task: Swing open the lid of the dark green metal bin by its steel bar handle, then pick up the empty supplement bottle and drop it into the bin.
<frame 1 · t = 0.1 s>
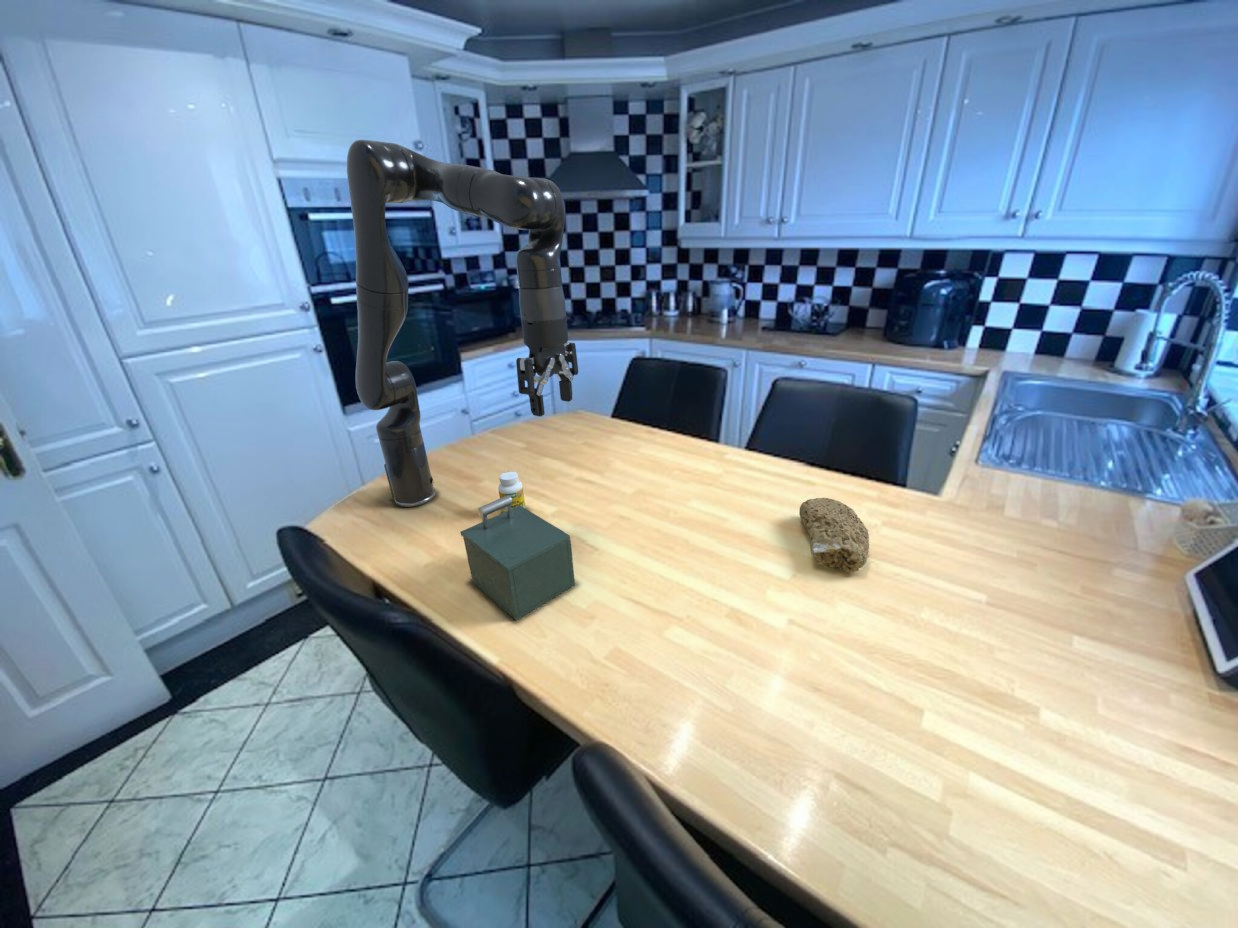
hand: (553, 407, 91), 29 cm above the countertop, tool pointing down, fingers open, 8 cm apart
supplement bottle: (514, 513, 115), on the countertop
bin lid: (512, 524, 87), point 12 cm above the countertop, hinge at 0.0°
bin: (523, 583, 92), on the countertop
sponge: (829, 544, 100), on the countertop
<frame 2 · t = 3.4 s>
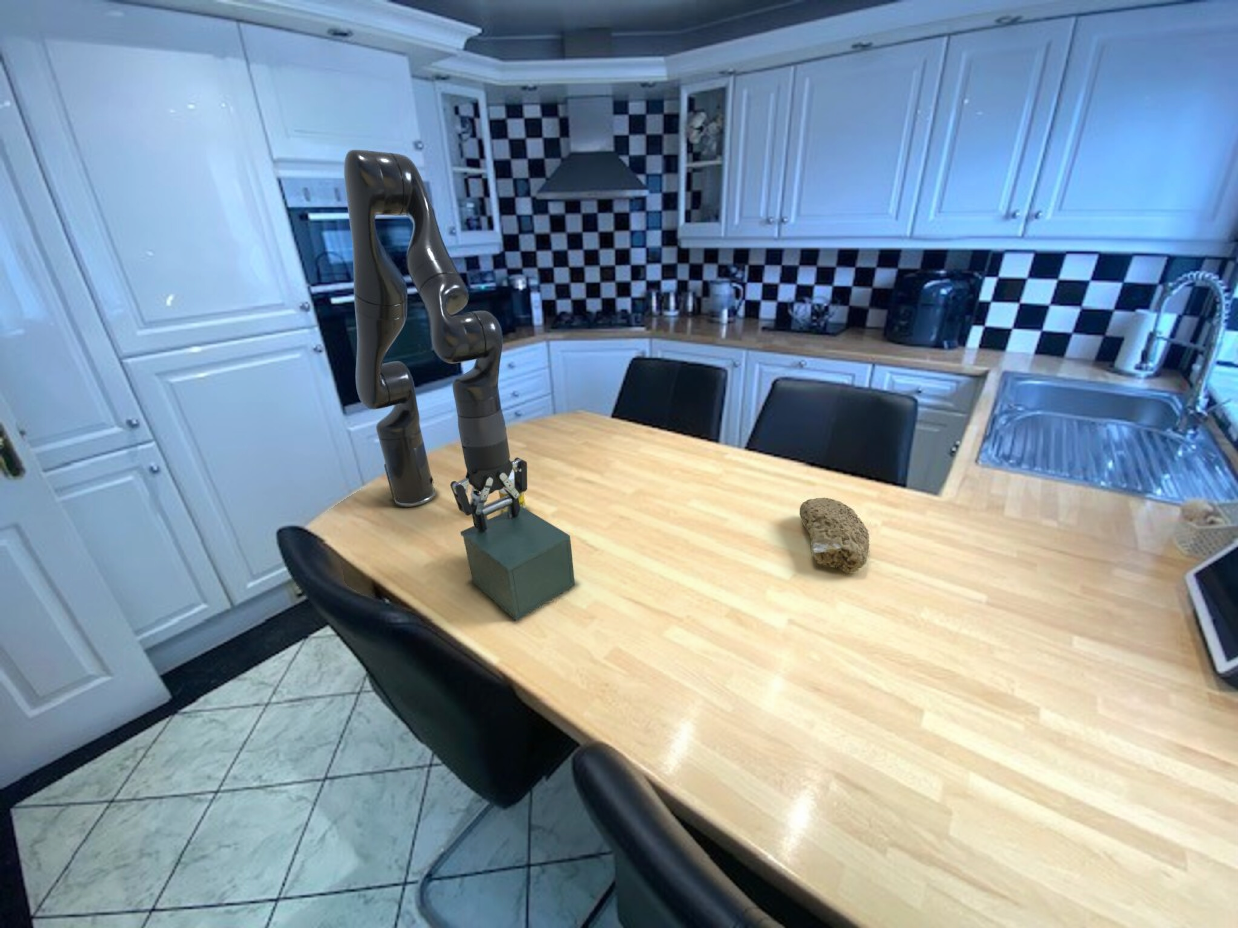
hand: (498, 521, 91), 11 cm above the countertop, tool pointing down, fingers closed on bin lid, 6 cm apart
bin lid: (512, 524, 87), point 12 cm above the countertop, hinge at -0.1°, touching gripper
everything else where it was.
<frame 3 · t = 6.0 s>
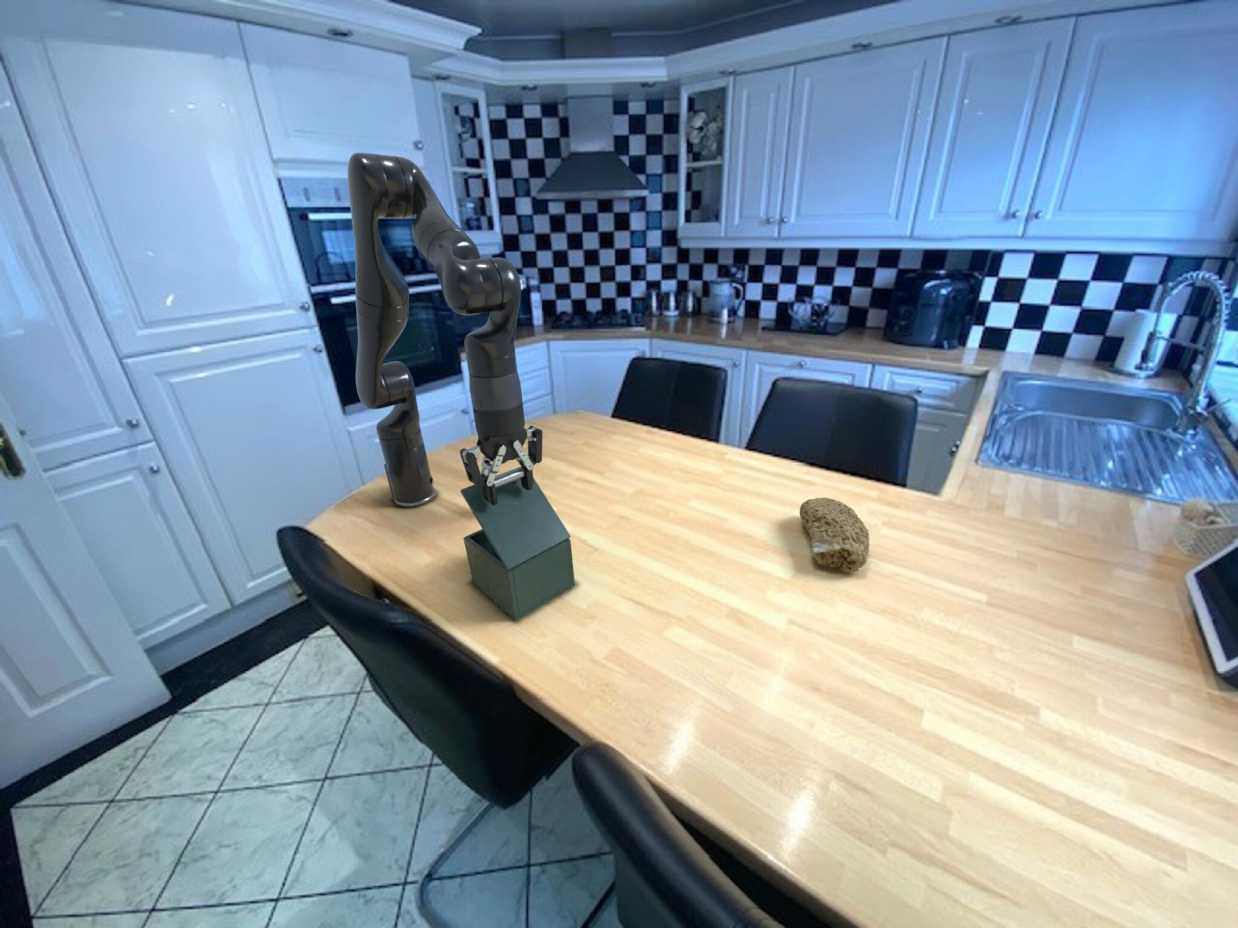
hand: (510, 495, 84), 18 cm above the countertop, tool pointing down, fingers closed on bin lid, 6 cm apart
bin lid: (520, 508, 83), point 17 cm above the countertop, hinge at 40.4°, touching gripper
everything else where it was.
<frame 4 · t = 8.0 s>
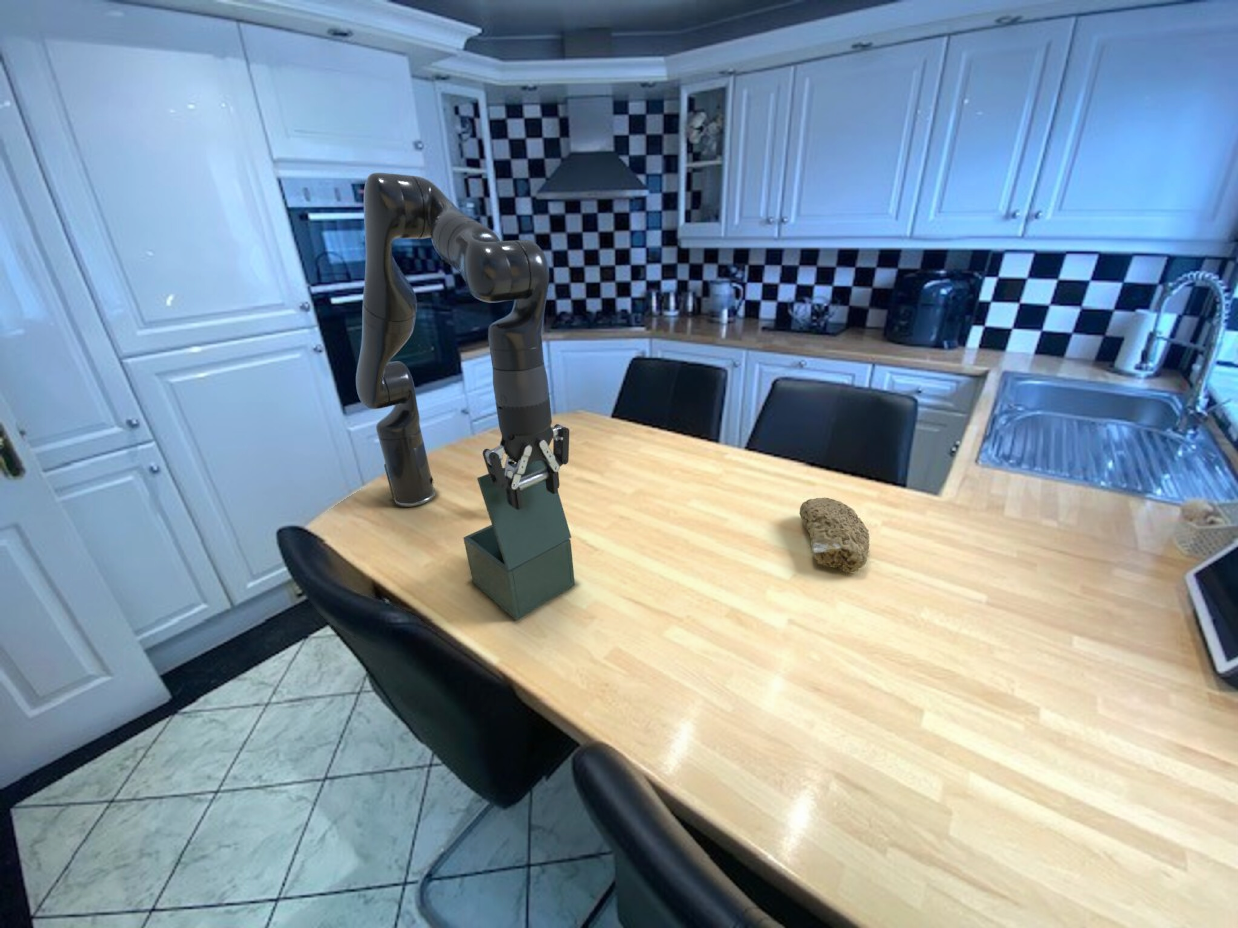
hand: (534, 499, 78), 21 cm above the countertop, tool pointing down, fingers closed on bin lid, 6 cm apart
bin lid: (534, 510, 80), point 18 cm above the countertop, hinge at 72.6°, touching gripper
everything else where it was.
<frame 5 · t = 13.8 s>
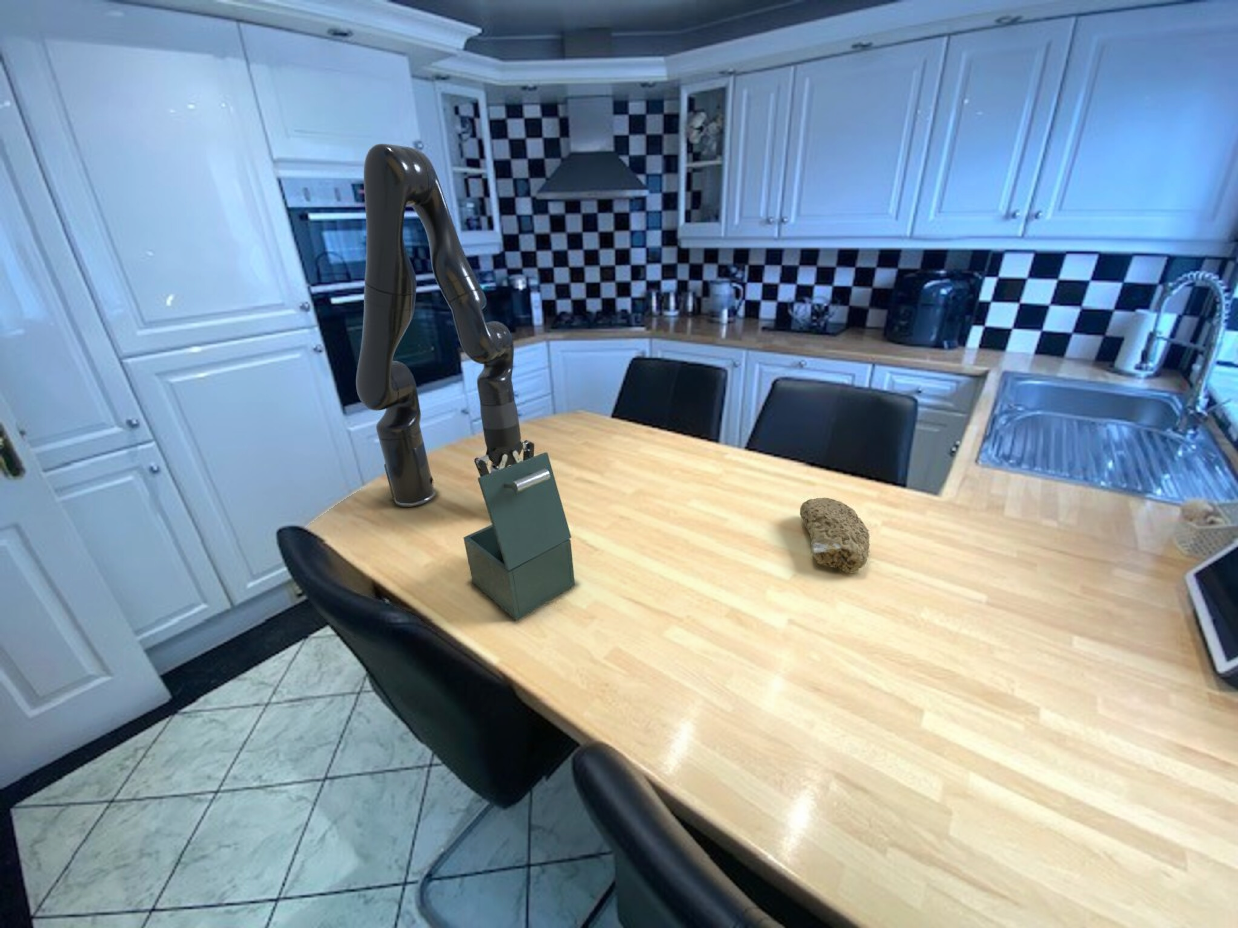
hand: (511, 491, 113), 5 cm above the countertop, tool pointing down, fingers closed on supplement bottle, 5 cm apart
supplement bottle: (514, 513, 115), on the countertop, touching gripper
bin lid: (534, 510, 80), point 18 cm above the countertop, hinge at 73.3°
everything else where it was.
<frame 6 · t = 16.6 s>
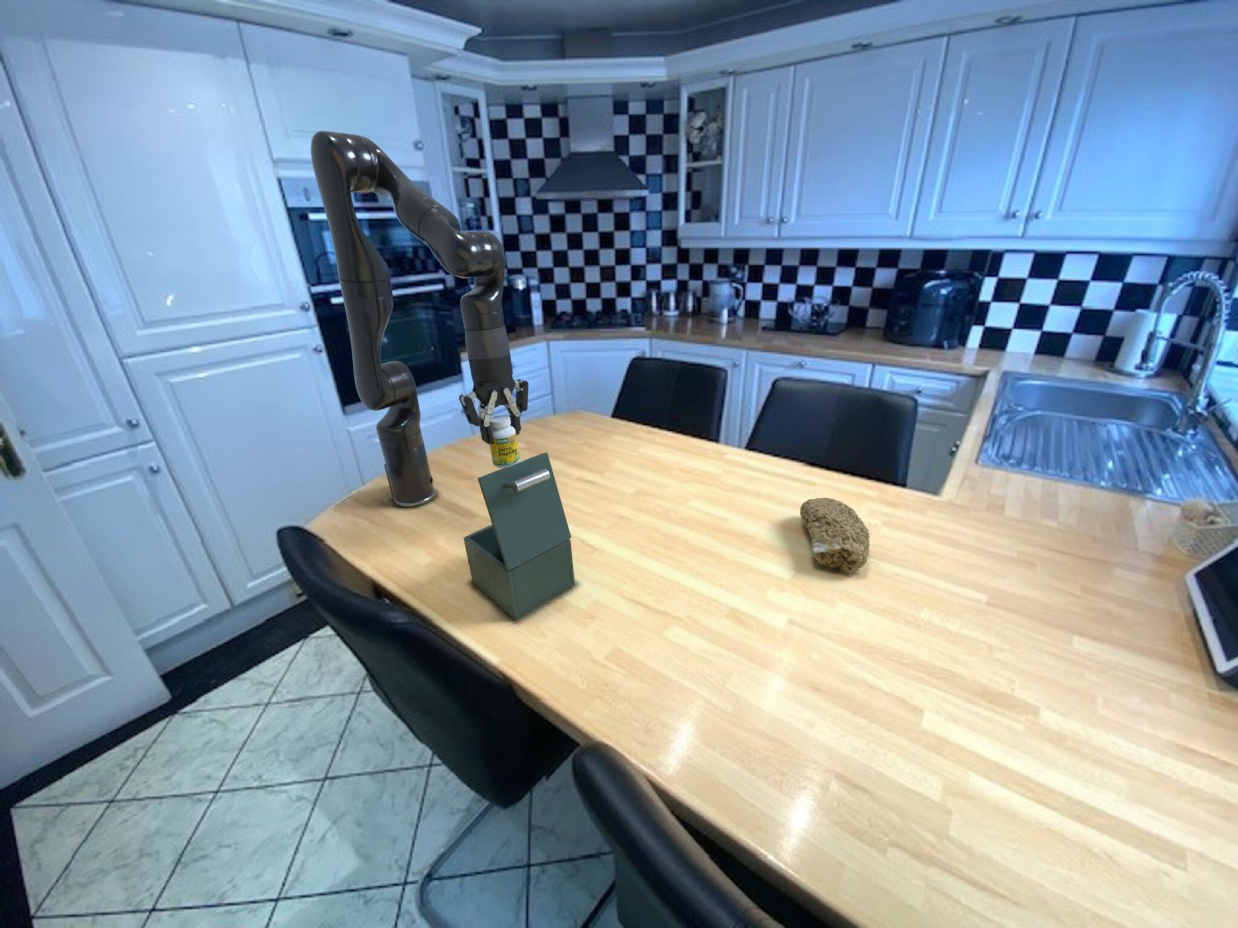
hand: (502, 438, 99), 22 cm above the countertop, tool pointing down, fingers closed on supplement bottle, 5 cm apart
supplement bottle: (506, 464, 101), point 16 cm above the countertop, touching gripper
everything else where it was.
when the fingers open (17 cm above the countertop, at t = 19.8 s): supplement bottle drops 11 cm, resting on bin.
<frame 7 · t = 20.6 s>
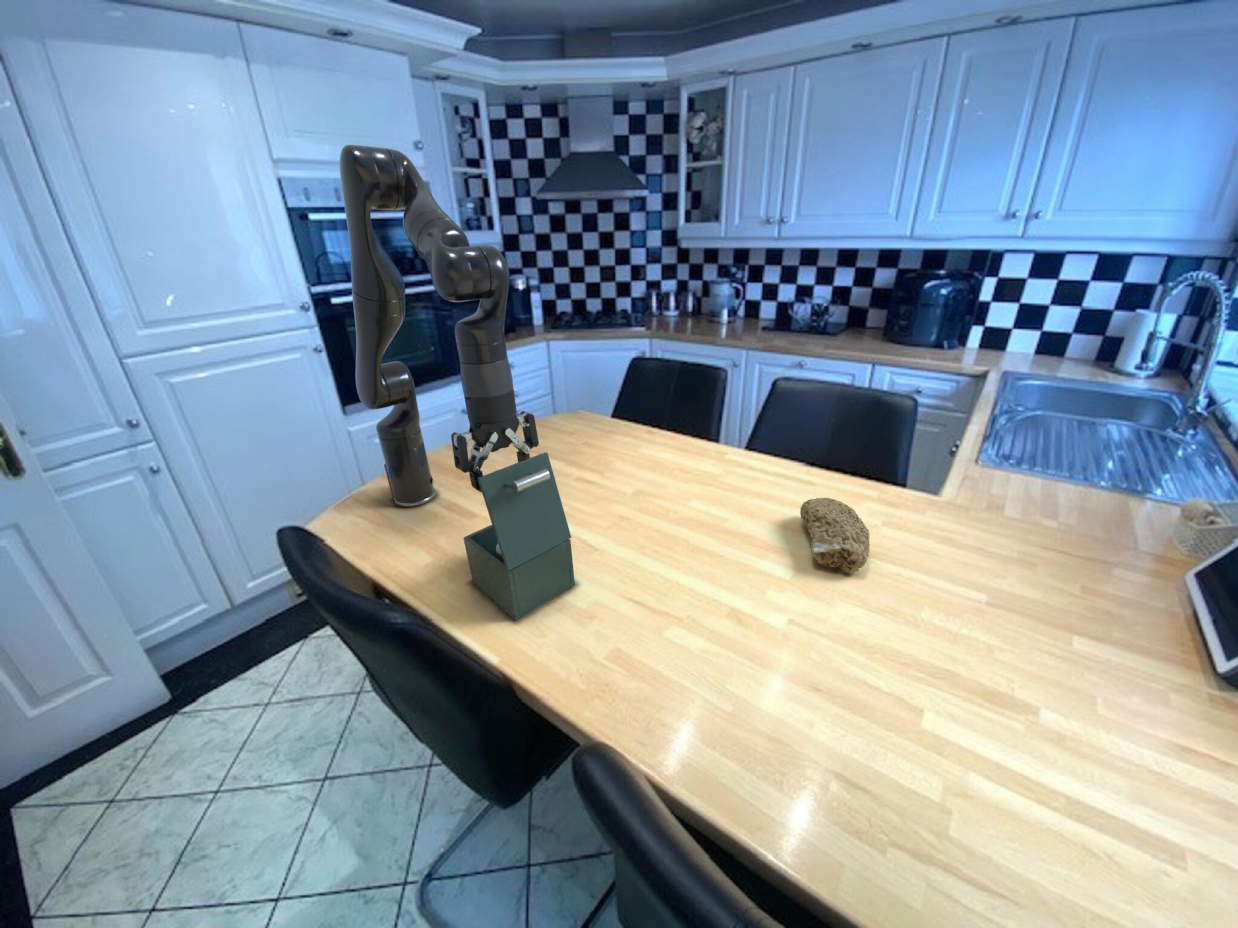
hand: (503, 481, 85), 21 cm above the countertop, tool pointing down, fingers open, 8 cm apart
supplement bottle: (518, 575, 93), point 1 cm above the countertop, touching bin
everything else where it was.
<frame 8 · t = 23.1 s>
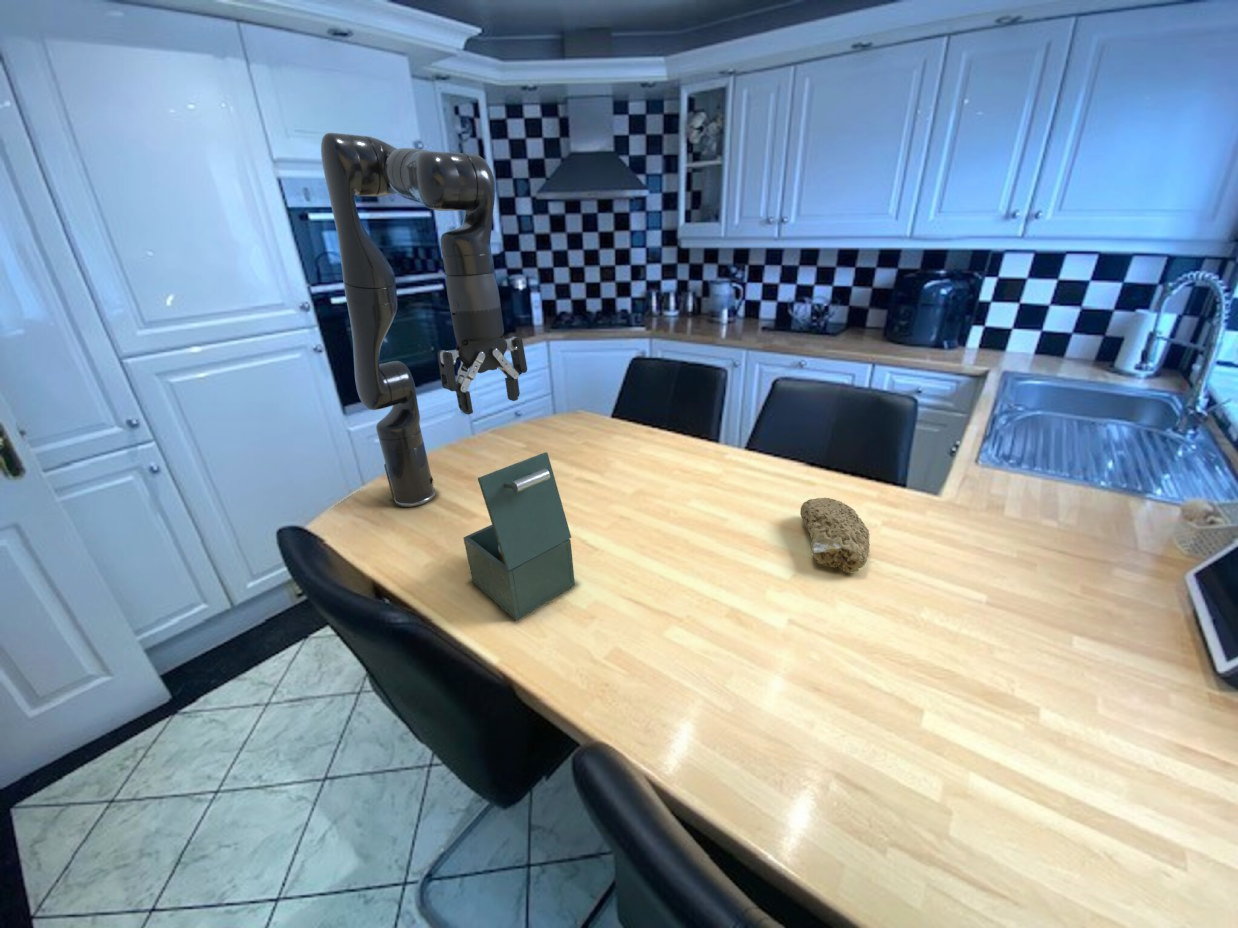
hand: (491, 406, 84), 32 cm above the countertop, tool pointing down, fingers open, 8 cm apart
nothing on the countertop moved.
at the end: bin lid at +73° (first picture: +0°); supplement bottle inside the target area in the bin (1.6 cm from its centre), point 0.6 cm above the bin's base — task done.
